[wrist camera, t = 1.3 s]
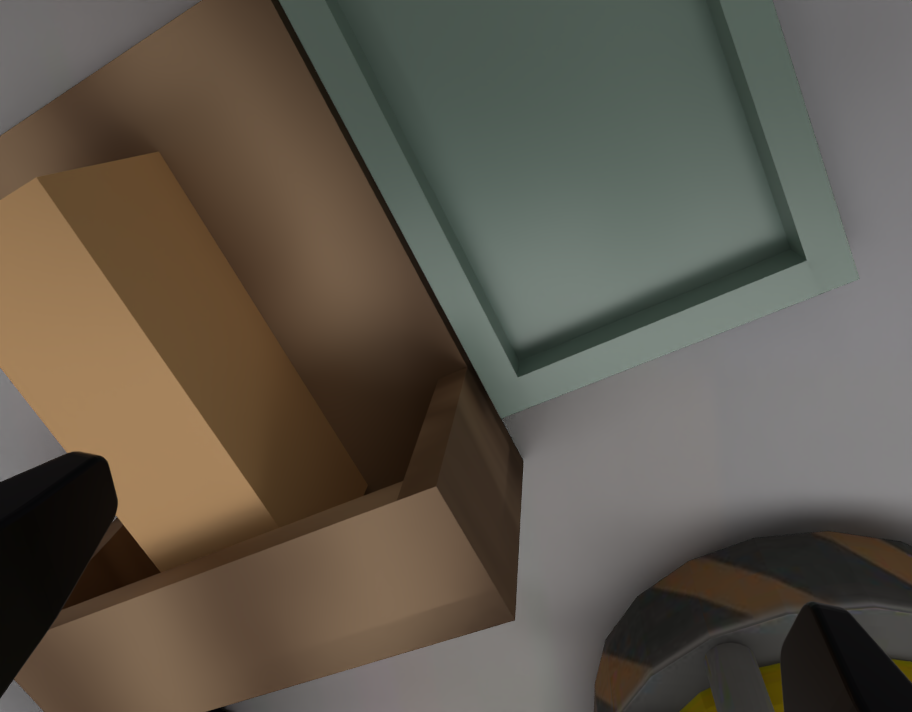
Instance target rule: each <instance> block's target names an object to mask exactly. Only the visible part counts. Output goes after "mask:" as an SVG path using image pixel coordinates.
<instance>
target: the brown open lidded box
mask: <svg viewBox="0 0 912 712" xmlns="http://www.w3.org/2000/svg"><path fill="white" fill-rule="evenodd" d="M154 152H159V153H160V154H161V156H162V157H163V159H164V161H165V162H166V164H167V165H168V167H169V169H170V170H171V172H172V173H173V175H174V177H175V178H176V180H177V181H178V183H179V185H180V186H181V188H182V189H183V191H184V192H185V194H186V196H187V197H188V199H189V200H190V202H191V204H192V205H193V207H194V208H195V210H196V212H197V213H198V215H199V216H200V218H201V220H202V221H203V223H204V224H205V226H206V228H207V229H208V231H209V232H210V234H211V236H212V237H213V239H214V240H215V242H216V244H217V245H218V247H219V248H220V250H221V252H222V253H223V255H224V256H225V258H226V259H227V261H228V263H229V264H230V266H231V267H232V269H233V271H234V272H235V274H236V275H237V277H238V279H239V280H240V282H241V283H242V285H243V287H244V288H245V290H246V291H247V293H248V295H249V296H250V298H251V299H252V301H253V303H254V304H255V306H256V307H257V309H258V311H259V312H260V314H261V315H262V317H263V318H264V320H265V322H266V323H267V325H268V326H269V328H270V330H271V331H272V333H273V334H274V336H275V338H276V339H277V341H278V342H279V344H280V346H281V347H282V349H283V350H284V352H285V354H286V355H287V357H288V358H289V360H290V362H291V363H292V365H293V366H294V368H295V370H296V371H297V373H298V374H299V376H300V378H301V379H302V381H303V382H304V384H305V385H306V387H307V389H308V390H309V392H310V393H311V395H312V397H313V398H314V400H315V401H316V403H317V405H318V406H319V408H320V409H321V411H322V413H323V414H324V416H325V417H326V419H327V421H328V422H329V424H330V425H331V427H332V429H333V430H334V432H335V433H336V435H337V437H338V438H339V440H340V441H341V443H342V444H343V446H344V448H345V449H346V451H347V452H348V454H349V456H350V457H351V459H352V460H353V462H354V464H355V465H356V467H357V468H358V470H359V472H360V473H361V475H362V476H363V478H364V480H365V481H366V483H367V484H368V486H367V489H366V491H365V493H364V496H362V497H359V498H357V499H354V500H351V501H349V502H346V503H343V504H341V505H338V506H336V507H333V508H330V509H328V510H325V511H322V512H320V513H317V514H314V515H312V516H309V517H306V518H304V519H301V520H299V521H296V522H293V523H291V524H288V525H285V526H283V527H280V528H277V529H275V530H272V531H269V532H267V533H264V534H262V535H259V536H256V537H254V538H251V539H248V540H246V541H243V542H240V543H238V544H235V545H232V546H230V547H227V548H225V549H222V550H219V551H217V552H214V553H211V554H209V555H206V556H203V557H201V558H198V559H195V560H193V561H190V562H188V563H185V564H182V565H180V566H177V567H174V568H172V569H169V570H166V571H164V572H160V571H159V570H158V568H157V567H156V566H155V564H154V563H153V562H152V561H151V559H150V558H149V557H148V555H147V554H146V553H145V552H144V550H143V549H142V548H141V547H140V545H139V544H138V543H137V541H136V540H135V539H134V538H133V536H132V535H131V534H130V532H129V531H128V530H127V529H126V527H125V526H124V525H123V524H122V522H121V521H120V520H119V518H118V517H117V518H116V519H115V520H114V521H113V522H112V523H111V525H110V527H109V528H108V530H107V532H106V534H105V535H104V537H103V539H102V541H101V542H100V544H99V546H98V548H97V549H96V551H95V553H94V555H93V556H92V558H91V560H90V562H89V563H88V565H87V567H86V569H85V570H84V572H83V574H82V575H81V577H80V579H79V581H78V582H77V584H76V586H75V588H74V589H73V591H72V593H71V595H70V596H69V598H68V600H67V602H66V603H65V605H64V607H63V608H62V610H61V611H60V613H59V615H58V616H57V618H56V620H55V621H54V623H53V624H52V625H51V627H50V628H49V630H48V631H47V633H46V634H45V636H44V637H43V639H42V640H41V642H40V643H39V644H38V646H37V647H36V649H35V650H34V651H33V653H32V654H31V656H30V657H29V658H28V660H27V661H26V663H25V664H24V666H23V667H22V668H21V670H20V671H19V673H18V674H17V675H16V677H15V678H14V680H15V681H16V682H17V683H18V684H19V685H20V686H21V687H22V688H23V689H24V691H25V692H26V693H27V694H28V695H29V696H30V697H31V698H32V699H33V700H34V701H35V702H36V703H37V704H38V706H39V707H40V708H41V709H42V710H43V711H44V712H207V711H210V710H213V709H217V708H220V707H223V706H227V705H230V704H234V703H237V702H240V701H244V700H247V699H250V698H254V697H257V696H261V695H264V694H267V693H271V692H274V691H278V690H281V689H284V688H288V687H291V686H294V685H298V684H301V683H305V682H308V681H311V680H315V679H318V678H321V677H325V676H328V675H332V674H335V673H338V672H342V671H345V670H348V669H352V668H355V667H359V666H362V665H365V664H369V663H372V662H375V661H379V660H382V659H386V658H389V657H392V656H396V655H399V654H402V653H406V652H409V651H413V650H416V649H419V648H423V647H426V646H429V645H433V644H436V643H440V642H443V641H446V640H450V639H453V638H457V637H460V636H463V635H467V634H470V633H473V632H477V631H480V630H484V629H487V628H490V627H494V626H497V625H500V624H504V623H507V622H511V621H514V620H515V610H516V592H517V573H518V554H519V535H520V516H521V497H522V479H523V460H522V458H521V456H520V454H519V452H518V450H517V448H516V446H515V445H514V443H513V441H512V439H511V437H510V435H509V433H508V431H507V429H506V428H505V426H504V424H503V422H502V420H501V418H500V416H499V414H498V413H497V411H496V409H495V407H494V405H493V403H492V401H491V399H490V398H489V396H488V394H487V392H486V390H485V388H484V386H483V384H482V382H481V381H480V379H479V377H478V375H477V373H476V371H475V369H474V367H473V366H472V364H471V362H470V360H469V358H468V356H467V354H466V352H465V351H464V349H463V347H462V345H461V343H460V341H459V339H458V337H457V335H456V334H455V332H454V330H453V328H452V326H451V324H450V322H449V320H448V319H447V317H446V315H445V313H444V311H443V309H442V307H441V305H440V304H439V302H438V300H437V298H436V296H435V294H434V292H433V290H432V288H431V287H430V285H429V283H428V281H427V279H426V277H425V275H424V273H423V272H422V270H421V268H420V266H419V264H418V262H417V260H416V258H415V257H414V255H413V253H412V251H411V249H410V247H409V245H408V243H407V241H406V240H405V238H404V236H403V234H402V232H401V230H400V228H399V226H398V225H397V223H396V221H395V219H394V217H393V215H392V213H391V211H390V210H389V208H388V206H387V204H386V202H385V200H384V198H383V196H382V194H381V193H380V191H379V189H378V187H377V185H376V183H375V181H374V179H373V178H372V176H371V174H370V172H369V170H368V168H367V166H366V164H365V163H364V161H363V159H362V157H361V155H360V153H359V151H358V149H357V147H356V146H355V144H354V142H353V140H352V138H351V136H350V134H349V132H348V131H347V129H346V127H345V125H344V123H343V121H342V119H341V117H340V115H339V114H338V112H337V110H336V108H335V106H334V104H333V102H332V100H331V99H330V97H329V95H328V93H327V91H326V89H325V87H324V85H323V84H322V82H321V80H320V78H319V76H318V74H317V72H316V70H315V68H314V67H313V65H312V63H311V61H310V59H309V57H308V55H307V53H306V52H305V50H304V48H303V46H302V44H301V42H300V40H299V38H298V37H297V35H296V33H295V31H294V29H293V27H292V25H291V23H290V21H289V20H288V18H287V16H286V14H285V12H284V10H283V8H282V6H281V5H280V3H279V1H278V0H202V1H200V2H199V3H197V4H196V5H194V6H193V7H191V8H190V9H188V10H187V11H185V12H184V13H182V14H181V15H179V16H178V17H176V18H175V19H173V20H172V21H170V22H169V23H167V24H166V25H165V26H163V27H162V28H160V29H159V30H157V31H156V32H154V33H153V34H151V35H150V36H148V37H147V38H145V39H144V40H142V41H141V42H139V43H138V44H136V45H135V46H133V47H132V48H130V49H129V50H127V51H126V52H124V53H123V54H121V55H120V56H118V57H117V58H115V59H114V60H112V61H111V62H109V63H108V64H106V65H105V66H104V67H102V68H101V69H99V70H98V71H96V72H95V73H93V74H92V75H90V76H89V77H87V78H86V79H84V80H83V81H81V82H80V83H78V84H77V85H75V86H74V87H72V88H71V89H69V90H68V91H66V92H65V93H63V94H62V95H60V96H59V97H57V98H56V99H54V100H53V101H51V102H50V103H48V104H47V105H46V106H44V107H43V108H41V109H40V110H38V111H37V112H35V113H34V114H32V115H31V116H29V117H28V118H26V119H25V120H23V121H22V122H20V123H19V124H17V125H16V126H14V127H13V128H11V129H10V130H8V131H7V132H5V133H4V134H2V135H1V136H0V200H1V199H3V198H4V197H6V196H7V195H9V194H11V193H12V192H14V191H15V190H17V189H18V188H20V187H22V186H23V185H25V184H26V183H28V182H30V181H31V180H33V179H34V178H36V177H40V176H44V175H49V174H54V173H59V172H64V171H68V170H73V169H78V168H83V167H87V166H92V165H97V164H102V163H107V162H111V161H116V160H121V159H126V158H130V157H135V156H140V155H145V154H150V153H154Z"/></svg>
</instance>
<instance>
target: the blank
mask: <svg viewBox="0 0 912 712" xmlns="http://www.w3.org/2000/svg"><path fill="white" fill-rule="evenodd" d="M0 368H1V369H2V370H3V372H4V373H5V374H6V375H7V377H8V378H9V379H10V380H11V382H12V383H13V384H14V386H15V387H16V388H17V389H18V391H19V392H20V393H21V395H22V396H23V397H24V398H25V400H26V401H27V402H28V403H29V405H30V406H31V407H32V409H33V410H34V411H35V412H36V414H37V415H38V416H39V418H40V419H41V420H42V421H43V423H44V424H45V425H46V426H47V428H48V429H49V430H50V432H51V433H52V434H53V435H54V437H55V438H56V439H57V441H58V442H59V443H60V444H61V446H62V447H63V448H64V449H65V451H66V452H67V453H70V452H73V451H81V452H86V453H91V454H96V455H100V456H102V457H104V458H105V459H106V460H107V461H108V464H109V467H110V471H111V475H112V479H113V482H114V486H115V490H116V494H117V498H118V508H117V512H116V516H117V517H118V518H119V520H120V521H121V522H122V524H123V525H124V526H125V527H126V529H127V530H128V531H129V532H130V534H131V535H132V536H133V538H134V539H135V540H136V541H137V543H138V544H139V545H140V547H141V548H142V549H143V550H144V552H145V553H146V554H147V555H148V557H149V558H150V559H151V561H152V562H153V563H154V564H155V566H156V567H157V568H158V570H159V571H160V572H164V571H166V570H169V569H172V568H174V567H177V566H180V565H182V564H185V563H188V562H190V561H193V560H195V559H198V558H201V557H203V556H206V555H209V554H211V553H214V552H217V551H219V550H222V549H225V548H227V547H230V546H232V545H235V544H238V543H240V542H243V541H246V540H248V539H251V538H254V537H256V536H259V535H262V534H264V533H267V532H269V531H272V530H275V529H277V528H280V527H283V526H285V525H288V524H291V523H293V522H296V521H299V520H301V519H304V518H306V517H309V516H312V515H314V514H317V513H320V512H322V511H325V510H328V509H330V508H333V507H336V506H338V505H341V504H343V503H346V502H349V501H351V500H354V499H357V498H359V497H362V496H364V493H365V491H366V489H367V486H368V484H367V483H366V481H365V480H364V478H363V476H362V475H361V473H360V472H359V470H358V468H357V467H356V465H355V464H354V462H353V460H352V459H351V457H350V456H349V454H348V452H347V451H346V449H345V448H344V446H343V444H342V443H341V441H340V440H339V438H338V437H337V435H336V433H335V432H334V430H333V429H332V427H331V425H330V424H329V422H328V421H327V419H326V417H325V416H324V414H323V413H322V411H321V409H320V408H319V406H318V405H317V403H316V401H315V400H314V398H313V397H312V395H311V393H310V392H309V390H308V389H307V387H306V385H305V384H304V382H303V381H302V379H301V378H300V376H299V374H298V373H297V371H296V370H295V368H294V366H293V365H292V363H291V362H290V360H289V358H288V357H287V355H286V354H285V352H284V350H283V349H282V347H281V346H280V344H279V342H278V341H277V339H276V338H275V336H274V334H273V333H272V331H271V330H270V328H269V326H268V325H267V323H266V322H265V320H264V318H263V317H262V315H261V314H260V312H259V311H258V309H257V307H256V306H255V304H254V303H253V301H252V299H251V298H250V296H249V295H248V293H247V291H246V290H245V288H244V287H243V285H242V283H241V282H240V280H239V279H238V277H237V275H236V274H235V272H234V271H233V269H232V267H231V266H230V264H229V263H228V261H227V259H226V258H225V256H224V255H223V253H222V252H221V250H220V248H219V247H218V245H217V244H216V242H215V240H214V239H213V237H212V236H211V234H210V232H209V231H208V229H207V228H206V226H205V224H204V223H203V221H202V220H201V218H200V216H199V215H198V213H197V212H196V210H195V208H194V207H193V205H192V204H191V202H190V200H189V199H188V197H187V196H186V194H185V192H184V191H183V189H182V188H181V186H180V185H179V183H178V181H177V180H176V178H175V177H174V175H173V173H172V172H171V170H170V169H169V167H168V165H167V164H166V162H165V161H164V159H163V157H162V156H161V154H160V153H159V152H154V153H150V154H145V155H140V156H135V157H130V158H126V159H121V160H116V161H111V162H107V163H102V164H97V165H92V166H87V167H83V168H78V169H73V170H68V171H64V172H59V173H54V174H49V175H44V176H40V177H36V178H34V179H33V180H31V181H30V182H28V183H26V184H25V185H23V186H22V187H20V188H18V189H17V190H15V191H14V192H12V193H11V194H9V195H7V196H6V197H4V198H3V199H1V200H0Z"/></svg>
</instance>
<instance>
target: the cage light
mask: <svg viewBox="0 0 912 712" xmlns="http://www.w3.org/2000/svg"><path fill="white" fill-rule="evenodd" d="M810 601H814V602H819V603H824V604H829V605H834V606H838V607H842V608H844V609H846V610H847V611H848V612H850V613H851V614H852V615H853V617H854V618H855V619H856V620H857V621H858V622H859V623H860V624H861V626H862V627H863V628H864V629H865V630H866V631H867V632H868V634H869V635H870V636H871V637H872V638H873V639H874V640H875V641H876V643H877V644H878V645H879V646H880V647H881V648H882V649H883V651H884V652H885V653H886V654H887V655H888V656H889V657H890V658H891V660H892V661H893V662H894V663H895V664H896V665H897V666H898V668H899V669H900V670H901V671H902V672H903V673H904V674H905V675H906V677H907V678H908V679H909V680H910V681H911V682H912V547H911V546H909V545H907V544H905V543H903V542H899V541H892V540H885V539H878V538H872V537H865V536H858V535H851V534H845V533H838V532H831V531H823V532H813V533H803V534H793V535H782V536H772V537H762V538H753V539H750V540H747V541H745V542H742V543H739V544H736V545H733V546H730V547H728V548H725V549H722V550H719V551H716V552H714V553H711V554H708V555H705V556H702V557H699V558H697V559H694V560H691V561H688V562H686V563H685V564H684V565H682V566H681V567H679V568H678V569H676V570H675V571H674V572H672V573H671V574H669V575H668V576H666V577H665V578H664V579H662V580H661V581H659V582H658V583H656V584H655V585H654V586H652V587H651V588H649V589H648V590H646V591H645V592H644V593H642V594H641V595H639V596H638V597H637V598H636V599H635V601H634V602H633V603H632V605H631V606H630V607H629V609H628V610H627V611H626V613H625V614H624V615H623V617H622V618H621V620H620V621H619V622H618V624H617V625H616V626H615V628H614V629H613V630H612V632H611V633H610V634H609V636H608V637H607V639H606V641H605V645H604V649H603V653H602V657H601V661H600V665H599V669H598V673H597V677H596V681H595V698H594V712H784V705H783V693H782V681H781V668H780V654H781V648H782V644H783V642H784V640H785V638H786V636H787V634H788V632H789V630H790V628H791V627H792V625H793V623H794V621H795V619H796V617H797V615H798V613H799V611H800V610H801V608H802V607H803V605H804V604H806V603H807V602H810Z"/></svg>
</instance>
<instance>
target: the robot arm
mask: <svg viewBox="0 0 912 712" xmlns="http://www.w3.org/2000/svg"><path fill="white" fill-rule="evenodd" d="M117 508H118V498H117V494H116V490H115V486H114V482H113V479H112V475H111V471H110V467H109V464H108V461H107V460H106V459H105V458H104V457H102V456H100V455H96V454H91V453H86V452H81V451H73V452H70V453H67V454H64V455H62V456H60V457H57V458H55V459H53V460H50V461H48V462H46V463H44V464H41V465H39V466H37V467H34V468H32V469H30V470H27V471H25V472H23V473H20V474H18V475H16V476H13V477H11V478H9V479H6V480H4V481H2V482H0V698H1V697H2V695H3V694H4V692H5V691H6V690H7V688H8V687H9V685H10V684H11V683H12V681H13V680H14V678H15V677H16V675H17V674H18V673H19V671H20V670H21V668H22V667H23V666H24V664H25V663H26V661H27V660H28V658H29V657H30V656H31V654H32V653H33V651H34V650H35V649H36V647H37V646H38V644H39V643H40V642H41V640H42V639H43V637H44V636H45V634H46V633H47V631H48V630H49V628H50V627H51V625H52V624H53V623H54V621H55V620H56V618H57V616H58V615H59V613H60V611H61V610H62V608H63V607H64V605H65V603H66V602H67V600H68V598H69V596H70V595H71V593H72V591H73V589H74V588H75V586H76V584H77V582H78V581H79V579H80V577H81V575H82V574H83V572H84V570H85V569H86V567H87V565H88V563H89V562H90V560H91V558H92V556H93V555H94V553H95V551H96V549H97V548H98V546H99V544H100V542H101V541H102V539H103V537H104V535H105V534H106V532H107V530H108V528H109V527H110V525H111V523H112V521H113V519H114V517H115V515H116V512H117ZM780 668H781V681H782V693H783V705H784V712H912V682H911V681H910V680H909V679H908V678H907V677H906V675H905V674H904V673H903V672H902V671H901V670H900V669H899V668H898V666H897V665H896V664H895V663H894V662H893V661H892V660H891V658H890V657H889V656H888V655H887V654H886V653H885V652H884V651H883V649H882V648H881V647H880V646H879V645H878V644H877V643H876V641H875V640H874V639H873V638H872V637H871V636H870V635H869V634H868V632H867V631H866V630H865V629H864V628H863V627H862V626H861V624H860V623H859V622H858V621H857V620H856V619H855V618H854V617H853V615H852V614H851V613H850V612H848V611H847V610H846V609H844V608H842V607H838V606H834V605H829V604H824V603H819V602H814V601H810V602H807V603H806V604H804V605H803V607H802V608H801V610H800V611H799V613H798V615H797V617H796V619H795V621H794V623H793V625H792V627H791V628H790V630H789V632H788V634H787V636H786V638H785V640H784V642H783V644H782V648H781V654H780ZM207 712H223V710H222V709H221V708H217V709H213V710H210V711H207Z"/></svg>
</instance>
